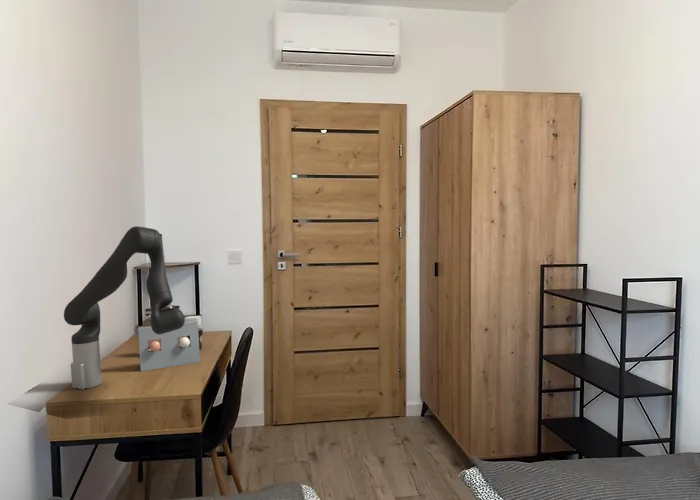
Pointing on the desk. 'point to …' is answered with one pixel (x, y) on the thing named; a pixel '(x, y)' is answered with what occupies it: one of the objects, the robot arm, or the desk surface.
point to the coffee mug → (200, 332)
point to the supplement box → (194, 319)
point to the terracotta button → (154, 345)
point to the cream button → (184, 341)
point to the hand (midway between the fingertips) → (161, 307)
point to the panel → (169, 347)
